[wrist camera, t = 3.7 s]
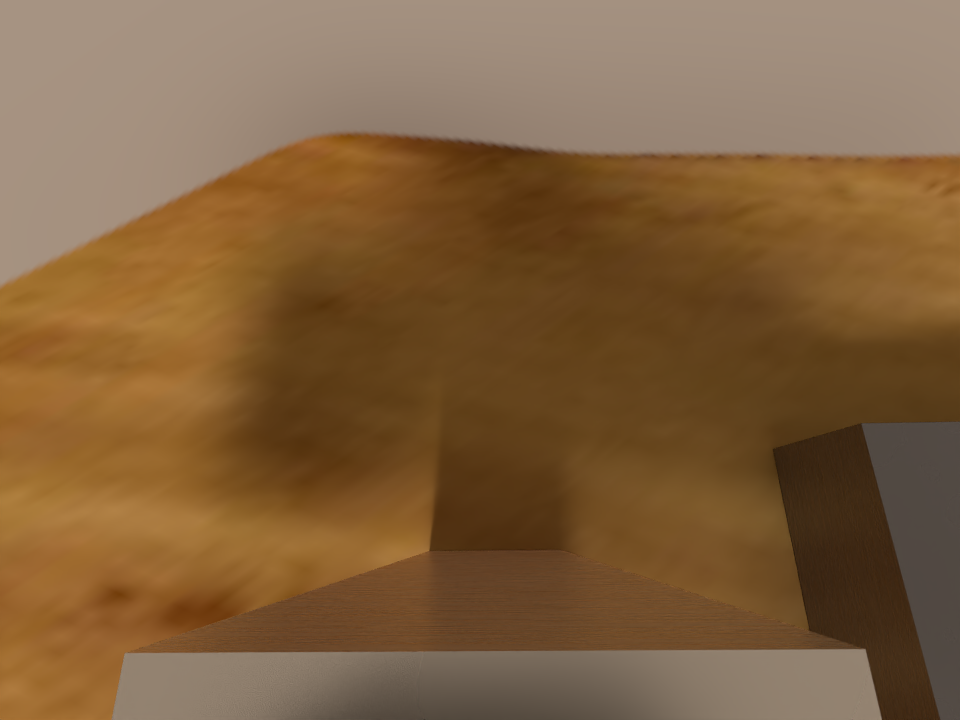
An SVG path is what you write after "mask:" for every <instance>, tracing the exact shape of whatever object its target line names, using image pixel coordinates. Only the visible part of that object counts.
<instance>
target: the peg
mask: <svg viewBox="0 0 960 720" xmlns="http://www.w3.org/2000/svg"><path fill="white" fill-rule="evenodd" d="M112 720H882V718H881V714H880V709H879V705H878V701H877V697H876V692H875V688H874V684H873V679H872V675H871V671H870V667H869V662H868V658H867V654H866V649H863V648H860V647H857V646H854V645H851V644H848V643H845V642H842V641H839V640H836V639H833V638H830V637H827V636H823V635H820V634H817V633H814V632H811V631H808V630H805V629H802V628H799V627H796V626H793V625H790V624H787V623H784V622H781V621H778V620H774V619H771V618H768V617H765V616H762V615H759V614H756V613H753V612H750V611H747V610H744V609H741V608H738V607H735V606H732V605H728V604H725V603H722V602H719V601H716V600H713V599H710V598H707V597H704V596H701V595H698V594H695V593H692V592H689V591H686V590H683V589H679V588H676V587H673V586H670V585H667V584H664V583H661V582H658V581H655V580H652V579H649V578H646V577H643V576H640V575H637V574H634V573H630V572H627V571H624V570H621V569H618V568H615V567H612V566H609V565H606V564H603V563H600V562H597V561H594V560H591V559H588V558H585V557H581V556H578V555H575V554H572V553H569V552H566V551H563V550H489V551H428V552H425V553H422V554H419V555H416V556H413V557H410V558H407V559H404V560H401V561H398V562H395V563H392V564H389V565H386V566H383V567H380V568H377V569H374V570H371V571H368V572H365V573H362V574H359V575H356V576H353V577H350V578H347V579H344V580H341V581H339V582H336V583H333V584H330V585H327V586H324V587H321V588H318V589H315V590H312V591H309V592H306V593H303V594H300V595H297V596H294V597H291V598H288V599H285V600H282V601H279V602H276V603H273V604H270V605H267V606H264V607H261V608H258V609H255V610H252V611H249V612H246V613H243V614H240V615H237V616H234V617H231V618H228V619H225V620H222V621H219V622H216V623H213V624H210V625H207V626H204V627H201V628H198V629H195V630H192V631H189V632H186V633H183V634H180V635H177V636H174V637H171V638H168V639H165V640H162V641H159V642H156V643H154V644H151V645H148V646H145V647H142V648H139V649H136V650H133V651H130V652H127V653H125V655H124V660H123V665H122V670H121V675H120V681H119V686H118V691H117V696H116V701H115V706H114V711H113V716H112Z"/></svg>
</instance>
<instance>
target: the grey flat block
mask: <svg viewBox="0 0 960 720" xmlns="http://www.w3.org/2000/svg"><path fill="white" fill-rule="evenodd" d="M773 451H774V456H775V461H776V466H777V471H778V475H779V480H780V485H781V490H782V495H783V500H784V505H785V510H786V515H787V520H788V524H789V529H790V534H791V539H792V544H793V549H794V554H795V559H796V564H797V569H798V573H799V578H800V583H801V588H802V593H803V598H804V603H805V608H806V613H807V618H808V623H809V627H810V631H811V632H814V633H817V634H820V635H823V636H827V637H830V638H833V639H836V640H839V641H842V642H845V643H848V644H851V645H854V646H857V647H860V648H863V649H866V654H867V658H868V662H869V667H870V671H871V675H872V679H873V684H874V688H875V692H876V697H877V701H878V705H879V709H880V714H881V718H882V720H960V422H916V423H861V424H858V425H854V426H851V427H847V428H844V429H840V430H837V431H833V432H830V433H826V434H823V435H819V436H816V437H813V438H809V439H806V440H802V441H799V442H795V443H792V444H788V445H785V446H781V447H778V448H774V449H773Z"/></svg>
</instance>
